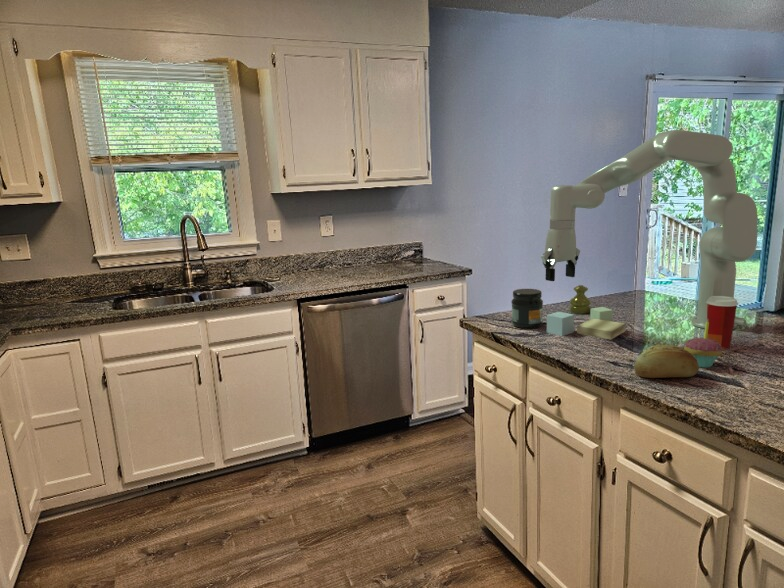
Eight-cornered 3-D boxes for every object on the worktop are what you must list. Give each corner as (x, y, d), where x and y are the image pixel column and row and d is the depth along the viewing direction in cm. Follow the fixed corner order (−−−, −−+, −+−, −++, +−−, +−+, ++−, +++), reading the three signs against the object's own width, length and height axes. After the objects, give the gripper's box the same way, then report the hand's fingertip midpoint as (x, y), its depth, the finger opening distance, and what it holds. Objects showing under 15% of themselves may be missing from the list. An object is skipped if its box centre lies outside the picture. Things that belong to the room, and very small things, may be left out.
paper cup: (729, 342, 149) (734, 295, 146) (737, 350, 142) (742, 302, 139) (699, 341, 152) (702, 295, 149) (705, 349, 145) (709, 301, 142)
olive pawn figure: (566, 310, 194) (566, 284, 192) (584, 308, 195) (585, 282, 192) (575, 315, 187) (575, 288, 185) (594, 313, 187) (595, 286, 185)
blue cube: (573, 332, 167) (574, 314, 165) (561, 336, 163) (562, 318, 162) (558, 328, 172) (558, 311, 170) (546, 332, 168) (546, 314, 167)
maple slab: (625, 332, 165) (625, 323, 164) (611, 340, 158) (611, 331, 157) (592, 326, 173) (592, 318, 172) (576, 334, 165) (577, 325, 165)
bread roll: (707, 383, 122) (710, 351, 121) (642, 384, 124) (644, 353, 122) (688, 369, 132) (690, 339, 130) (628, 370, 133) (629, 340, 132)
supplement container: (549, 326, 174) (549, 292, 172) (522, 331, 171) (522, 296, 168) (531, 319, 184) (531, 286, 181) (505, 323, 181) (505, 290, 178)
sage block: (612, 324, 173) (612, 310, 172) (599, 326, 172) (599, 311, 171) (602, 320, 178) (603, 306, 177) (590, 322, 177) (590, 308, 176)
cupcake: (689, 356, 140) (692, 314, 137) (725, 363, 134) (729, 319, 131) (678, 365, 134) (681, 321, 131) (715, 373, 128) (719, 327, 125)
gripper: (570, 222, 168) (568, 273, 172) (533, 226, 159) (532, 280, 163) (589, 223, 162) (587, 276, 166) (553, 228, 153) (551, 284, 157)
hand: (560, 278), depth 165 cm, fingers open, 9 cm apart
